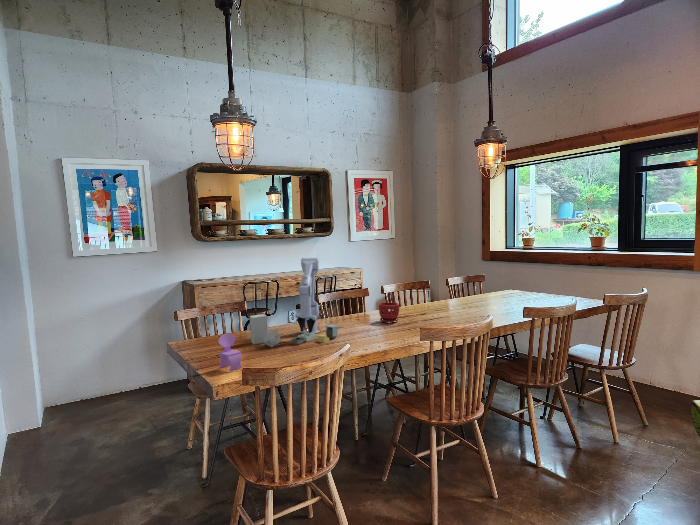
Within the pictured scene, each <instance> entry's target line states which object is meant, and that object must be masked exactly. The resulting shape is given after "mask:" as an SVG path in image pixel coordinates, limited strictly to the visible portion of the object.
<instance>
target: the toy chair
mask: <svg viewBox="0 0 700 525" xmlns="http://www.w3.org/2000/svg"><path fill="white" fill-rule="evenodd" d="M235 342H236V336H235V335H234V334H231V333H224V334H222V335H221V336H220V337H219V338H218V340H217V343H218V344H219V346H221V347H222V348H223V351H221V352H219V358H220V363H219V367H218V369H223V368H225V366H226V367H229V366H230V368H229V370H228V372H229V371H231V372H234V371H233V370H235V371H237V370H236V369H238V370H241V369H243V367H242V364H241V361H242V360H241V359H242V352H241V351H240V350H236V349H231V347H232V346H233V345H234V344H235ZM222 367H223V368H222ZM240 368H241V369H240Z"/></svg>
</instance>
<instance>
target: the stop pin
mask: <svg viewBox="0 0 700 525" xmlns="http://www.w3.org/2000/svg"><path fill="white" fill-rule="evenodd" d="M302 334H304V337H309V332H308V326H305V327H303V333H302Z"/></svg>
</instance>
